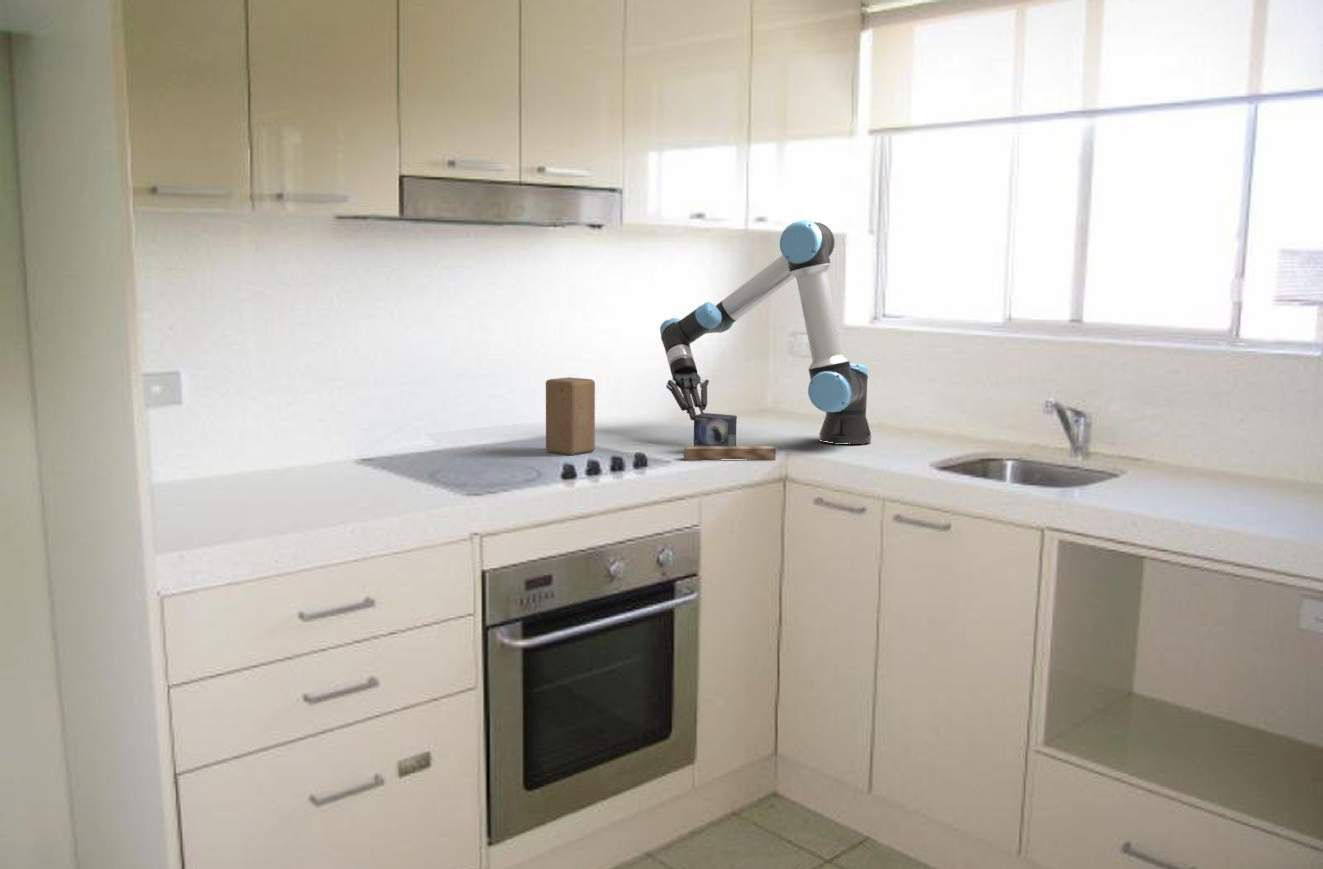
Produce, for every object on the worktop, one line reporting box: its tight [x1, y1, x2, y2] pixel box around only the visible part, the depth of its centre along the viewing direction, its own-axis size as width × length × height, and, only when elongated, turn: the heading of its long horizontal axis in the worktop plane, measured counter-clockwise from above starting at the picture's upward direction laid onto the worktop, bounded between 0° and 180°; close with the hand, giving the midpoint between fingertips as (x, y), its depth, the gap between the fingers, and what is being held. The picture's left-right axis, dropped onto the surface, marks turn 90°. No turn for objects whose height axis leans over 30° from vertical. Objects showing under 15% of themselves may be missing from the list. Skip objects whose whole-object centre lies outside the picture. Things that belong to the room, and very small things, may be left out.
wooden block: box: [545, 377, 596, 456], centre depth 301 cm, size 10×10×20 cm
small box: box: [693, 412, 738, 446], centre depth 303 cm, size 11×6×10 cm, turn 62°
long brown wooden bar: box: [683, 445, 777, 462], centre depth 293 cm, size 24×4×4 cm, turn 96°
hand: (700, 428), depth 313 cm, fingers closed
